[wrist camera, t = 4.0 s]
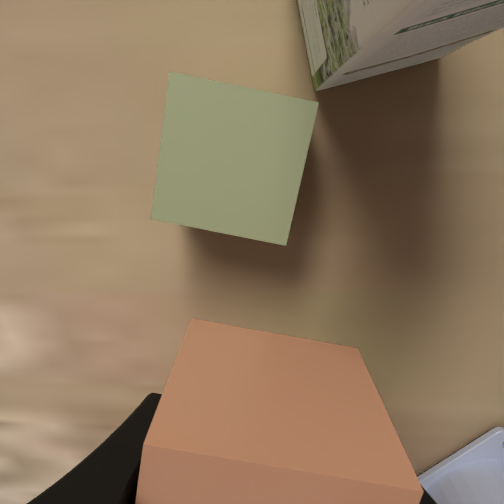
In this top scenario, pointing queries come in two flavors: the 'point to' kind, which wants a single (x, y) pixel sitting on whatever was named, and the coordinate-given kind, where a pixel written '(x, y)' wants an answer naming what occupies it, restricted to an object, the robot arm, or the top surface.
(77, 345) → the top surface
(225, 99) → the olive block
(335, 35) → the syrup box
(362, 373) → the terracotta block
